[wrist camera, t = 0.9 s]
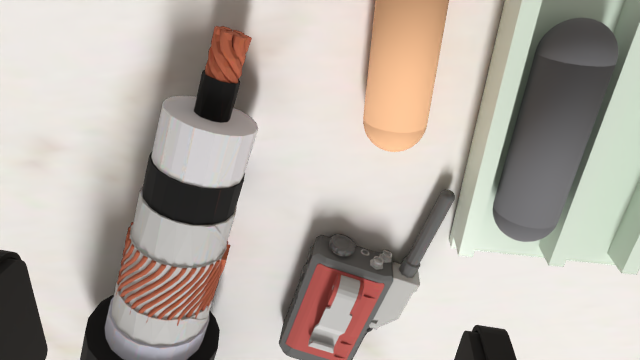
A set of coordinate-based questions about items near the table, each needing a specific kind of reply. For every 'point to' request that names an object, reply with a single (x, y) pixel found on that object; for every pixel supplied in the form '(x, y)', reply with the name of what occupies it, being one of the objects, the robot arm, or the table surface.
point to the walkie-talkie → (352, 292)
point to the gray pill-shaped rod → (553, 126)
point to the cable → (181, 222)
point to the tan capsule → (402, 70)
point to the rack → (598, 158)
